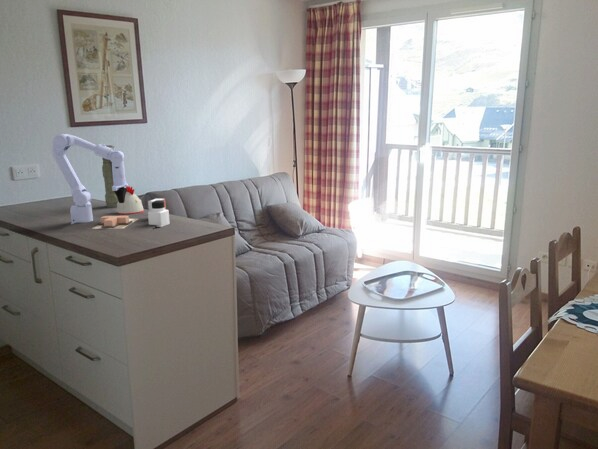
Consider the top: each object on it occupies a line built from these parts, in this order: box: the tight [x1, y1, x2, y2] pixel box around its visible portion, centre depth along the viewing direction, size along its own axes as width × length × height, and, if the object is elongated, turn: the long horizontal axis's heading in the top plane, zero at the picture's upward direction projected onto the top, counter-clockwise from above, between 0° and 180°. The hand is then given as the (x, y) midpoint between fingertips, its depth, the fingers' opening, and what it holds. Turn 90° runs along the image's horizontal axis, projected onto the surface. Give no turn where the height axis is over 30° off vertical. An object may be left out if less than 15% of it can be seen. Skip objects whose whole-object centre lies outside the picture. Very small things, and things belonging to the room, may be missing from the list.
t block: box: [100, 215, 130, 226], centre depth 225 cm, size 12×10×4 cm
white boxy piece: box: [147, 198, 167, 212], centre depth 238 cm, size 8×6×10 cm
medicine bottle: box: [147, 200, 171, 228], centre depth 227 cm, size 7×7×12 cm
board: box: [91, 218, 139, 230], centre depth 229 cm, size 15×21×2 cm
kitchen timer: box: [116, 185, 144, 215], centre depth 255 cm, size 14×14×15 cm
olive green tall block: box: [101, 145, 118, 209], centre depth 272 cm, size 9×12×35 cm
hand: (121, 202), depth 236 cm, fingers closed
